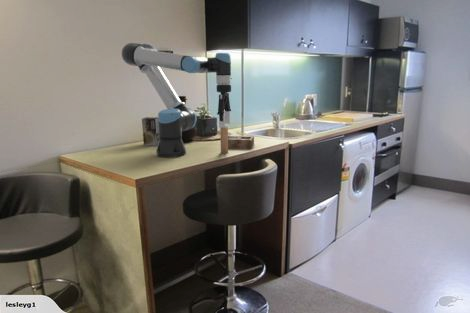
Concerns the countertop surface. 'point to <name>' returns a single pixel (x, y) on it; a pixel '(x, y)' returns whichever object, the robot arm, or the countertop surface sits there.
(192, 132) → the glass bottle
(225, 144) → the peg
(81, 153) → the countertop surface
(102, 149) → the countertop surface
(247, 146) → the socket block
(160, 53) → the robot arm
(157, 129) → the coffee box
